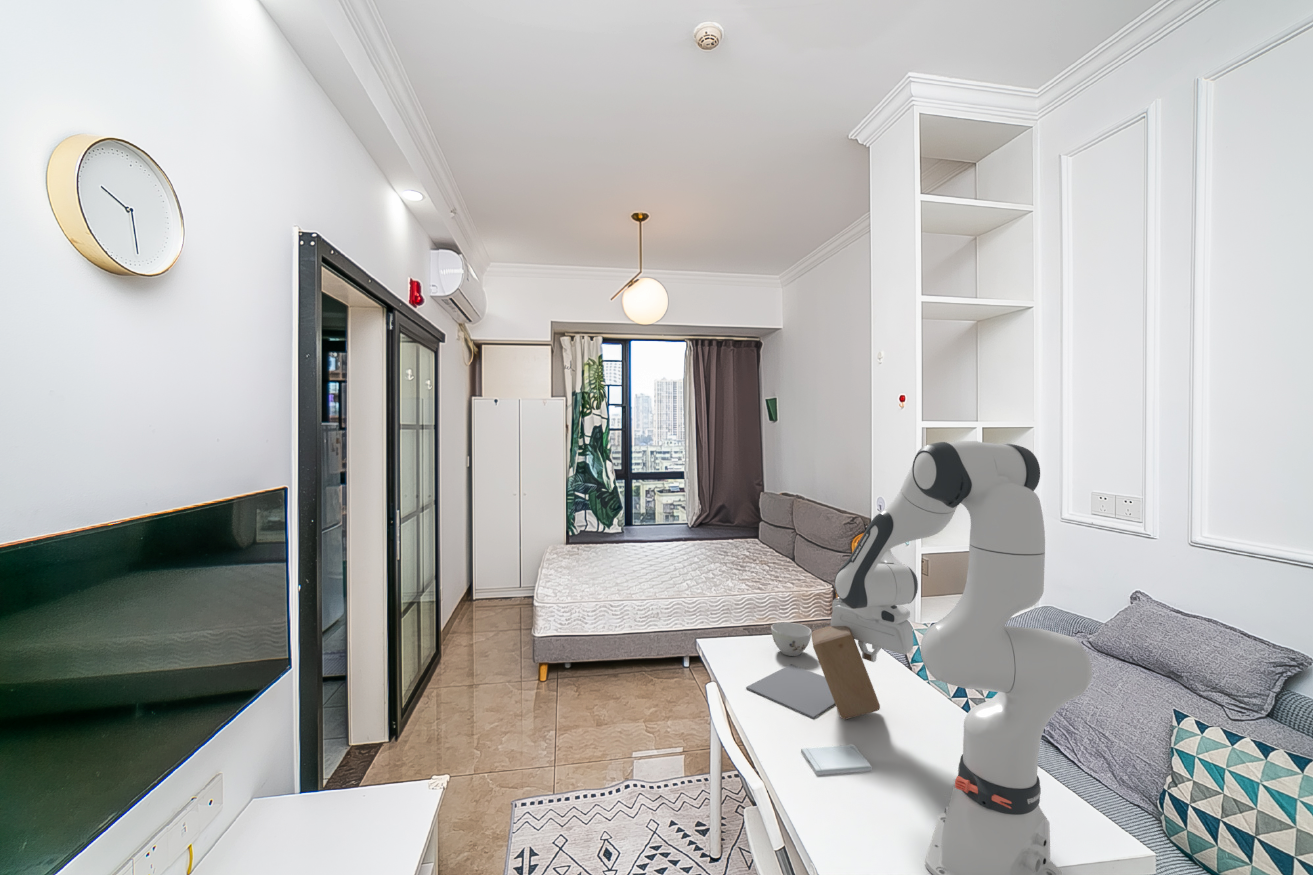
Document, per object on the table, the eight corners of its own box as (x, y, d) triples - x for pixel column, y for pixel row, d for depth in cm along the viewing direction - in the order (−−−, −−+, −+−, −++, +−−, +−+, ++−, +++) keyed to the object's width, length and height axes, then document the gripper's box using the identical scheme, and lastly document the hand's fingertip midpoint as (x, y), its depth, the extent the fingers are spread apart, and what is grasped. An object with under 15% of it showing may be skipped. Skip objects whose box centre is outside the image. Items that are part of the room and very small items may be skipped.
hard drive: (853, 743, 128) (800, 747, 126) (871, 765, 120) (816, 769, 118) (852, 750, 128) (800, 754, 126) (871, 773, 120) (816, 777, 118)
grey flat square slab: (813, 718, 140) (813, 716, 140) (746, 688, 156) (746, 686, 156) (856, 690, 155) (856, 688, 155) (791, 665, 171) (791, 664, 171)
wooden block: (882, 711, 137) (851, 633, 138) (841, 721, 139) (812, 644, 140) (875, 692, 147) (846, 619, 148) (837, 702, 149) (809, 630, 150)
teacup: (816, 661, 174) (816, 635, 174) (776, 661, 174) (776, 635, 174) (802, 641, 189) (802, 618, 189) (765, 641, 189) (765, 618, 189)
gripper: (826, 597, 146) (825, 650, 147) (905, 619, 131) (903, 677, 132) (839, 592, 151) (837, 643, 151) (916, 613, 136) (915, 669, 136)
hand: (869, 659), depth 141 cm, fingers closed
